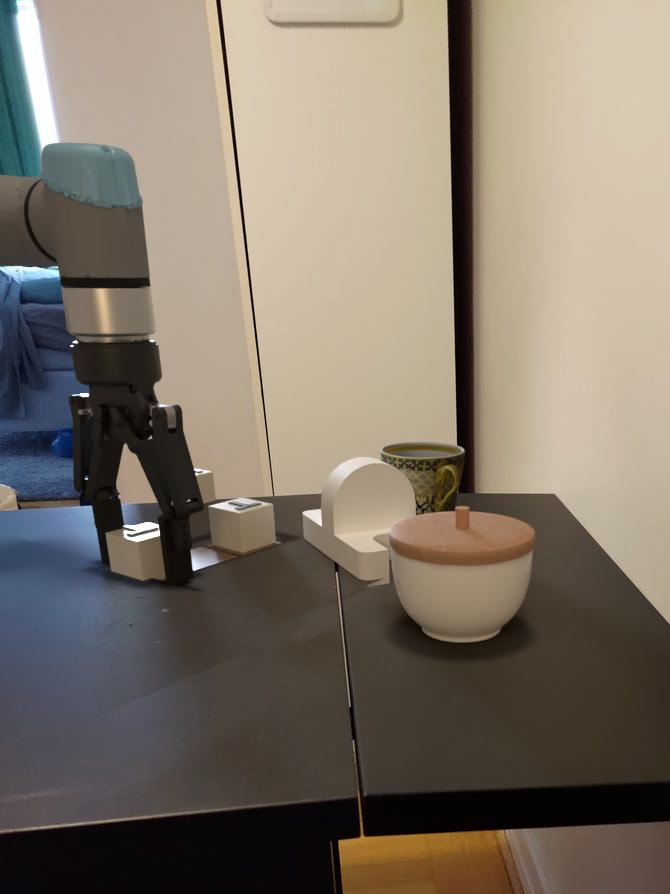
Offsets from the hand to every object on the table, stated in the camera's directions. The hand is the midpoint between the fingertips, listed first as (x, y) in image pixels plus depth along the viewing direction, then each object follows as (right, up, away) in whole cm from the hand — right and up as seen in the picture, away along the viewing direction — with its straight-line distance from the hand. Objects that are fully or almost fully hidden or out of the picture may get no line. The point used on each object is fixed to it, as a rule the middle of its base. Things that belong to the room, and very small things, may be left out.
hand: (147, 571), depth 89 cm
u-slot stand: (+21, +2, +9) cm, 23 cm away
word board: (+3, +1, +5) cm, 7 cm away
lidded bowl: (+32, -6, -10) cm, 34 cm away
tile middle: (-5, +11, +28) cm, 30 cm away
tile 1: (0, 0, 0) cm, 0 cm away
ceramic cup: (+28, +6, +17) cm, 33 cm away
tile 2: (+7, +4, +10) cm, 13 cm away
